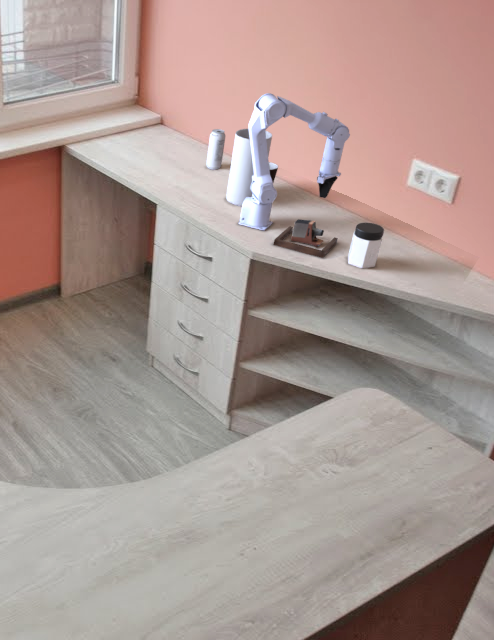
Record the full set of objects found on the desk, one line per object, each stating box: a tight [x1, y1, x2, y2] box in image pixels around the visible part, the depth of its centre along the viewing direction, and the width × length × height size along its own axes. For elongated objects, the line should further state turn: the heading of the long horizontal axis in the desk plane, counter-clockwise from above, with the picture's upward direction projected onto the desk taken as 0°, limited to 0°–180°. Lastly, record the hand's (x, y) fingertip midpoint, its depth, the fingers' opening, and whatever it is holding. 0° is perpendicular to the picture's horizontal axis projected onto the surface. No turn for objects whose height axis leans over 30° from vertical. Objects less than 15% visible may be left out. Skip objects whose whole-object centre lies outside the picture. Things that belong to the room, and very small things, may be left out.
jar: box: [347, 222, 385, 269], centre depth 250 cm, size 9×8×12 cm
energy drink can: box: [205, 128, 226, 171], centre depth 321 cm, size 6×6×15 cm
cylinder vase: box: [225, 128, 273, 207], centre depth 289 cm, size 12×12×25 cm
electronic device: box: [290, 218, 325, 249], centre depth 264 cm, size 4×10×8 cm, turn 53°
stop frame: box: [273, 225, 338, 259], centre depth 264 cm, size 16×13×2 cm
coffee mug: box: [269, 161, 279, 184], centre depth 302 cm, size 12×9×10 cm
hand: (323, 197), depth 274 cm, fingers closed
